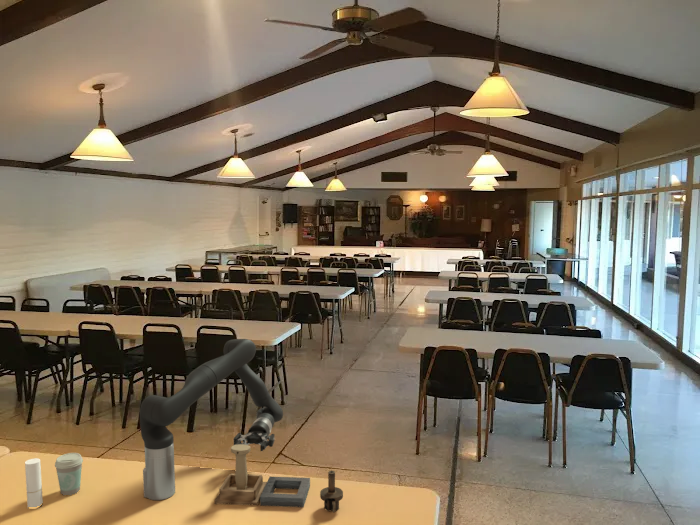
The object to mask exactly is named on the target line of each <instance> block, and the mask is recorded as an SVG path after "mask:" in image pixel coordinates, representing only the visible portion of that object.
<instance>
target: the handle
mask: <svg viewBox="0 0 700 525" xmlns="http://www.w3.org/2000/svg"><path fill="white" fill-rule="evenodd" d="M230 452H231V453H232V454H234V455H235V473H234V474H235V480H236V486H237V487H236V488H237V490H247V474H248V465H247V455H248V454H249V453H250V452H251V446H250V445H243V444H238V445H234V444H233V445H232V446H231V447H230Z"/></svg>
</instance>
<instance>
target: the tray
mask: <svg viewBox="0 0 700 525" xmlns="http://www.w3.org/2000/svg"><path fill="white" fill-rule="evenodd" d="M266 483H267V481H264V478H263V474H254V473H253V474H252V473H251V474H250V473H249V474H248V473H247V490H237V488H236V487H237V486H236V480H235V473H230V474H228V475H227V476H226V477H225V480H224V481H223V482H222V484H221V486H220V487H219V488H218V489H219V490H218V491H219V492H218V494H217V496H216V498H215V499H214V504H216V505H239V506H258V505H259V504H260V496H261V494H262V492H263V490H264V488H265V485H266Z"/></svg>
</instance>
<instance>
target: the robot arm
mask: <svg viewBox="0 0 700 525" xmlns="http://www.w3.org/2000/svg"><path fill="white" fill-rule="evenodd" d="M256 352H257V346H256V343H255V342H253V341H252V339H247V338H238V339H237V338H236V339H235V338H234V339H230V340H227V341H226V342H225V343H224V347H223V355H221V356H218V357H216V358H213V359H211V360H210V359H209V361H206V362H204V363H202V364H201V365H199V366H198V367H196V368H195V369H193V370H192V371H190V373H188V375H187V376H186V379H185V382H184V384H183V387H182V388H181V389H180V390H179V391H177V392H176V393H175V394H173V395H171V396H170V397H165V396H160V395H157V394H153V395H152V394H151V395H148V396H147V397H145V398H144V399H143V401H142V402H141V404H140V409H139V424H140V425H139V426H140V435H141V439H142V440H143V443H144V464H145V466H144V467H143V469H142V480H143V483H142V484H143V486H142V487H143V497H144V498H147V499H149V500H151V501H161V500H166V499H169V498H170V497H172V496H174V494H175V493H176V479H175V478H176V475H175V472H176V471H175V470H176V469H175V448H174V446H175V445H174V442H175V441H174V435H173V433H172V432H171V431H170V429H168V428H167V427H168V426H170V425H171V424H173V423H174V422H175V421H176V420H177V419H178V418H179V417H180V416H182V415H183V414H184V412H186V411H187V410H188V409H189V408H190V407H191V406H192V405H193V404H195V403H196V402H197V401H198V400H199V399H201V398H202V397H203V396H204V395H205V394H207V393H208V392H209V391H211V390H212V389H214V388H215V387H216V386H218V384H220V383H221V382H222V381H223V380H225V379H227V377H229V376H230V375H231V374H232V373H234V372H235V374H236V375H237V377H239V379H240V380H241V382H242V384H243V385H244V386H245V388H246V390H247V392H248V393H249V395H250V396H249V397H250V398H251V399H252V402H253V403H254V405H255V406H256V407H259V408H258V410H257V411H256V420H254V422H252V425H251V426H250V427H249V429H248V431H247V433H245V434H242V433H241V432H237V434H236V435H235V436H234V437H233V445H238V444H243V445H248V446H250V445H253V444H254V445H259V447H260V452H264V451H265V450H266V448H268V446H269V447H270V448H271V447H273V446H274V443H275V441H276V440H275V439H276V438H275V433H272V434H271V432H272V429H273V427H274V426H275V423H277V422H280V421H282V419H283V417H284V411H283V408H282V407H281V405H280V404H279V403H278V402H277V401H276V400H275V399H274V397H272V395H271V394H270V392H269V390H268V388H267V385H266V384H265V382H264V381H263V379H262V378H261V377H259V375H258V374H257V373H256V372H254V370H252V369H251V367H250V366H249V365H248V363H250V362H251V361H252V360H253V359H254V357H255V354H256Z"/></svg>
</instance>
